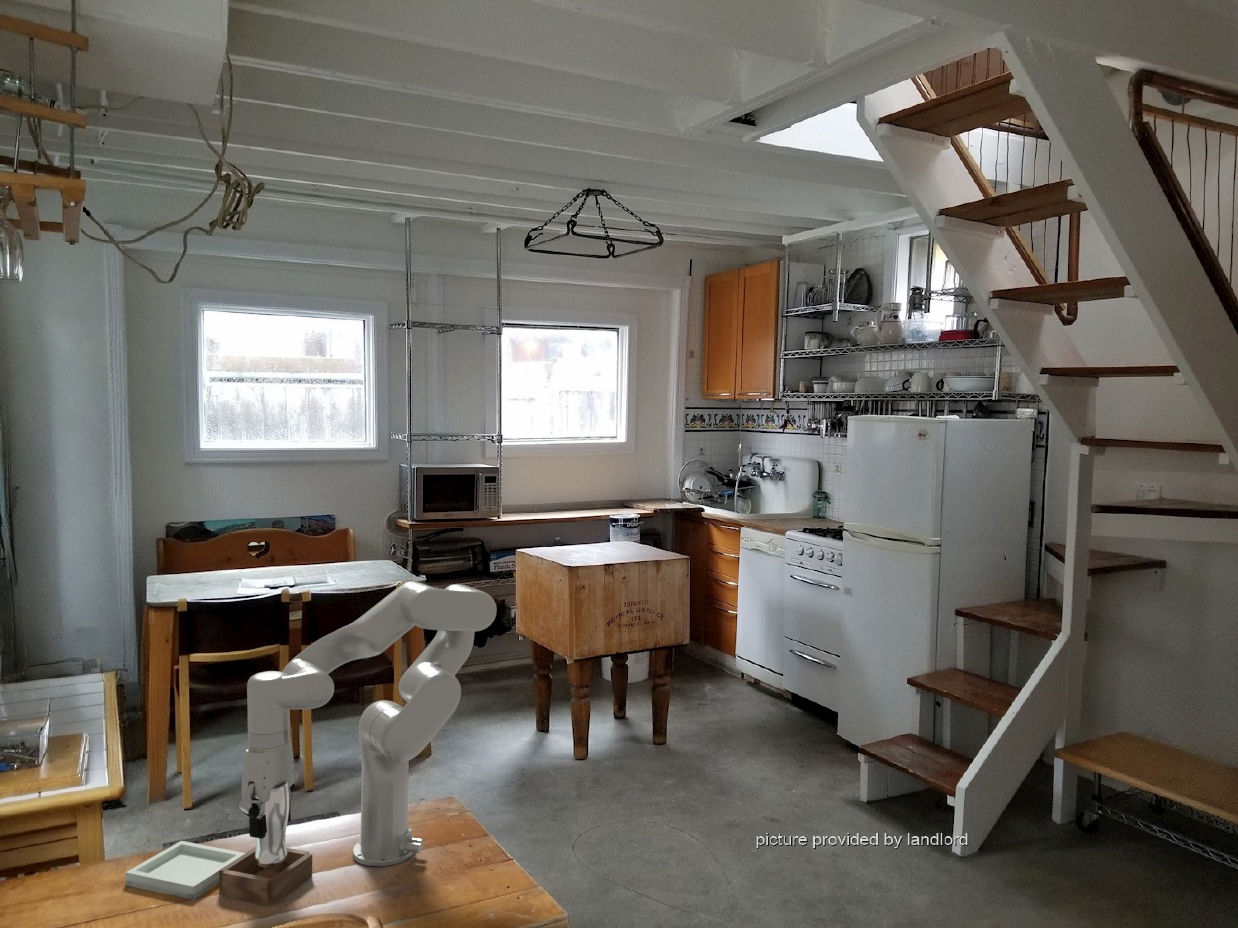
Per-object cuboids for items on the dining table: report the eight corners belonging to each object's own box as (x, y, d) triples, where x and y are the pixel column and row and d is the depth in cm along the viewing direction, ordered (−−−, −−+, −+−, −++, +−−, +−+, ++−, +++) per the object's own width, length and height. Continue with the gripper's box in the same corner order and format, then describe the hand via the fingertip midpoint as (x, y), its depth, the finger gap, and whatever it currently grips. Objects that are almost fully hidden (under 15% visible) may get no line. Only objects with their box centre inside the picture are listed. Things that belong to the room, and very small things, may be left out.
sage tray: (245, 865, 178) (245, 852, 178) (193, 899, 165) (193, 886, 165) (181, 852, 183) (181, 840, 183) (125, 884, 169) (125, 872, 169)
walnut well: (313, 875, 175) (314, 852, 175) (272, 906, 163) (272, 882, 163) (261, 864, 178) (261, 842, 178) (216, 894, 167) (217, 871, 166)
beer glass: (276, 870, 167) (275, 792, 166) (243, 866, 168) (242, 789, 167) (297, 852, 174) (296, 777, 173) (265, 848, 175) (264, 774, 174)
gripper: (282, 720, 179) (283, 807, 180) (220, 751, 163) (222, 846, 164) (313, 724, 177) (315, 812, 178) (254, 755, 160) (256, 852, 161)
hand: (270, 827), depth 171 cm, fingers closed on beer glass, 6 cm apart
